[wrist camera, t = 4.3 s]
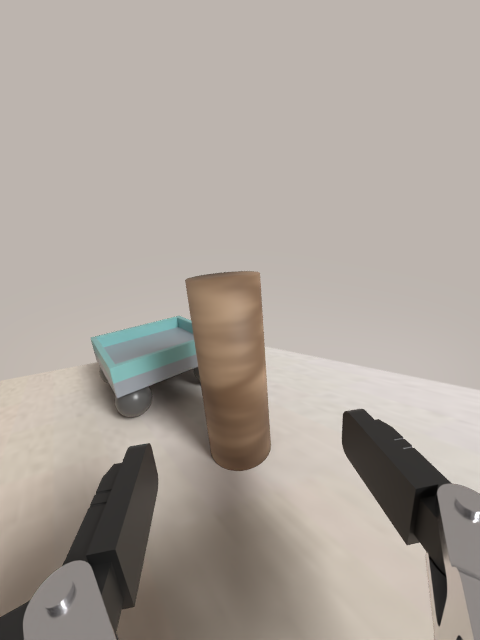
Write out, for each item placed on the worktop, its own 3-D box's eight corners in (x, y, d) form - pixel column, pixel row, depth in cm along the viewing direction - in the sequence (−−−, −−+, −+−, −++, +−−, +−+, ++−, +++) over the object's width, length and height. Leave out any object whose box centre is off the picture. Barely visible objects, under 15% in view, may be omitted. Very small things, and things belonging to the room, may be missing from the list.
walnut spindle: (234, 483, 17) (210, 284, 13) (199, 443, 21) (173, 279, 17) (283, 445, 20) (275, 272, 16) (245, 416, 24) (231, 270, 20)
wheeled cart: (123, 430, 23) (107, 369, 22) (101, 382, 33) (88, 337, 31) (229, 380, 30) (224, 332, 29) (185, 353, 40) (179, 315, 38)
